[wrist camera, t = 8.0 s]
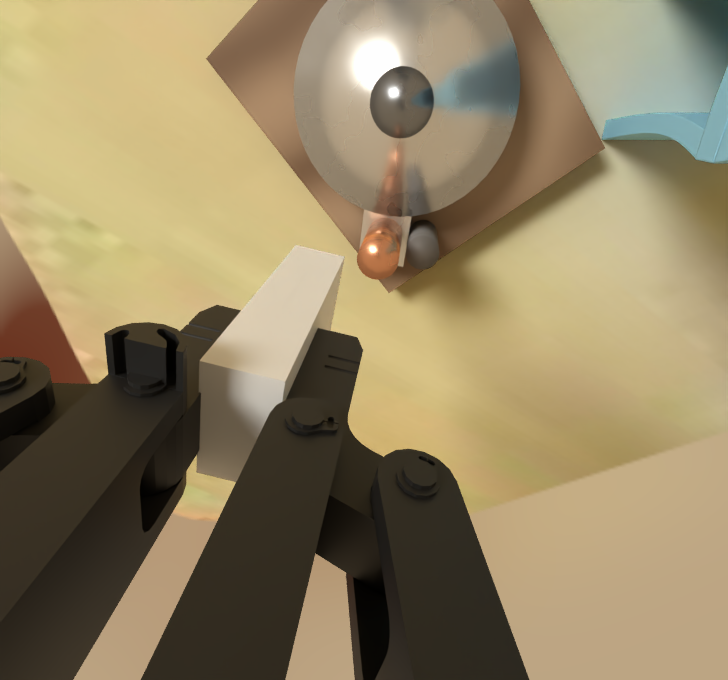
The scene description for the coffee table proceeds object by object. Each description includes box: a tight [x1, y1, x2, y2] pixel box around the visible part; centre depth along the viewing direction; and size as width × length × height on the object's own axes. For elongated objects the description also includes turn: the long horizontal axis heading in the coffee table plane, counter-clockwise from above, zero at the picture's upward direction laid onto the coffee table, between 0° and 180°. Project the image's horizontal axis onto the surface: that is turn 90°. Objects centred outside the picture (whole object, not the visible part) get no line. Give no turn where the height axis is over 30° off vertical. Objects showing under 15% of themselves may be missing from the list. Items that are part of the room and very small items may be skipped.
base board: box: [206, 0, 605, 293], centre depth 21 cm, size 15×13×5 cm
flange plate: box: [294, 0, 520, 279], centre depth 19 cm, size 12×10×6 cm
